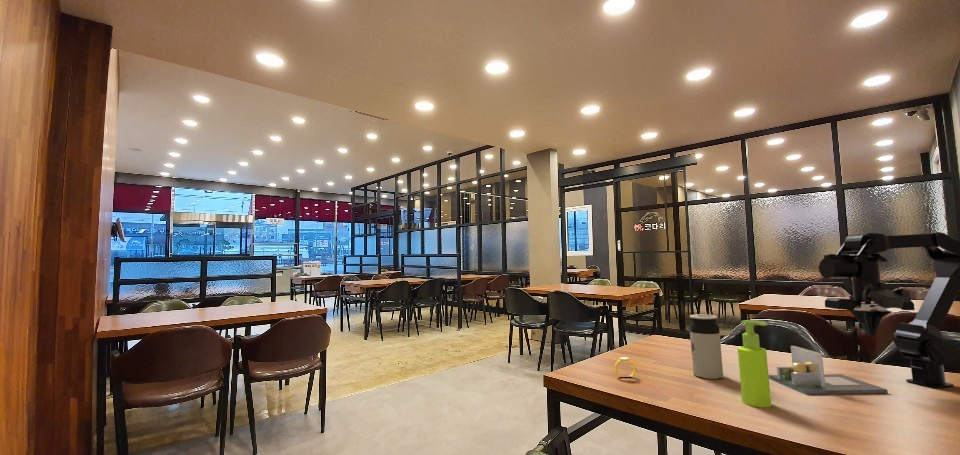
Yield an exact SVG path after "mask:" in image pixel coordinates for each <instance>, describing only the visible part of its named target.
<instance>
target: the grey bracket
mask: <svg viewBox="0 0 960 455" xmlns="http://www.w3.org/2000/svg"><path fill="white" fill-rule="evenodd" d="M790 352H791V353H790V354H791V362H792V365H793V362H801V363H805V364H806V365H807V372H793V366H776V371H777V372H776V373H777V374H776V375H778V378H779V379H792V384H794V385H818V386H821V387H826V386H825V377H824V374H825V369H824V359H823V353H821V352H817V351H814V350H810V349H807V348H803V347H799V346H795V345H790Z"/></svg>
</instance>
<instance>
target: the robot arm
mask: <svg viewBox="0 0 960 455" xmlns="http://www.w3.org/2000/svg"><path fill="white" fill-rule="evenodd" d="M906 248H907V249H908V248H909V249H910V248H923V249H925V253H926V256H927V257H928V258H929V259H931V260H932V261H934V262H933V265H932V266H933V267H932V268H933V269H934V273H935V275H936V276H935V278H934V280H933V282H932V284H931V286H930V287H929V290H928V292H927V294H926V296H925V298H924V299H923V301H922V303H921V305H920V308H919V309H918V310H917V311H918V312H917V313H916V315H915V318H914V319H913V320H912V321H911V322H908V323H907V322H900V323H899V324H898V325H897V329H896V331H895V332H894V333H893V336H894V338H893V343H894V344H895V347H896V348H897V349H898V352H899V354H900V356H901V357H902V358H907V359H910V370H911V378H908V379H905V381H906V382H907V383H912V384H915V385H920V386H925V387H930V388H934V389H940V388H947V387H948V388H949V387H954V386H955V385H954V383H950V382H946V376H945V375H946V374H945V368H944V367H945V366H949V365H953V364H954V361H955V356H954V355H953V354H952V353H951V352H950V351H948V350H947V349H946V348H944V347H943V344H944V337H943V335H942V331H941V328H942V326H943V324H944V322H945V320H946V318H947V316H948V314H949V311H950V310H951V308H952V307H953V304H954V302H955V300H956V298H957V296H958V294H959V292H960V241H959V240H958V239H957V240H956V239H954V238H952V237H950V236H949V235H948V234H947V233H945V232H940V231H937V232H936V231H935V232H923V233H916V234H899V235H897V234H896V235H889V234H885V233H877V232H865V233H863V232H862V233H854V234H849V235H847V236H846V237H845V239H844V242H843V244H842V246H841V247H840V248H839V249H838V251H837V252H836V253H835V254H834V253H826V254H823V259H821V260H820V262H819V265H818V272H819V274H820V275H821V276H822V277H823V278H825V279H851V281H848V283H847V284H848V286H852V295H850V296H849V298H846V297H827V298H826V299H825V300H824V308H829V309H835V310H836V309H837V310H844V311H845V310H846V311H848V312H850V313H851V314H852V316H854V317H855V319H856V320H857V321H858V322H859V324H860V326H861V327H862V329H863V330H864V332H865V333H866V335H867V336H868V337H874V336H875V334H876V332H877V330H878V328H879V324H880V322H881V321H882V319H883V317H885V316H887V315H888V314H891V313H892V312H893V311H890V310H888V309H890V308H891V309H899V310H901V311H915V303H914V302H913V301H912V300H911V294H910V291H909V290H908V289H905V288H897V289H896V290H892V289H888V288H887V284H886V283H885V282H882V281H881V280H882V279H881V272H880V271H881V270H880V263H886V262H888V258H886V257H884V256H882V255H881V254H880V253H885V252H887V251H890V250H893V249H894V250H895V249H906Z"/></svg>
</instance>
